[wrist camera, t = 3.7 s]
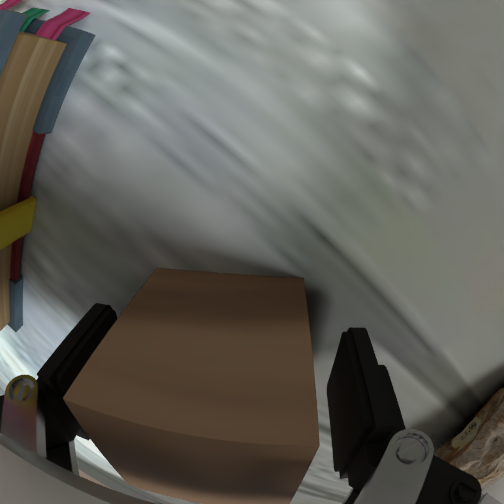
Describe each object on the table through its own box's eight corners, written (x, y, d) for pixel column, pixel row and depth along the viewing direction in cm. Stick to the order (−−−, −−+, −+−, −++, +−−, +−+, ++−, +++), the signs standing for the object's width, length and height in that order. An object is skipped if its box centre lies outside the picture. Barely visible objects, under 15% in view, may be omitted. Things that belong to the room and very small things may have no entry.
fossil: (526, 343, 10) (604, 411, 4) (498, 339, 16) (565, 391, 10) (397, 499, 11) (482, 550, 5) (412, 453, 18) (479, 499, 11)
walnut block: (156, 267, 10) (62, 398, 4) (303, 277, 10) (319, 445, 4) (173, 367, 12) (129, 484, 6) (288, 379, 12) (285, 510, 6)
